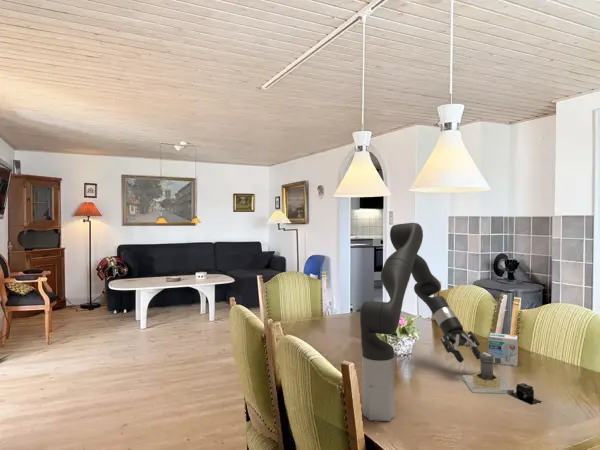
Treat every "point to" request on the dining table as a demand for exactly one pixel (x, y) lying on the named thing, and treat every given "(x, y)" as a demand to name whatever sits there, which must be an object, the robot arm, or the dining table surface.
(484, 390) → the hub plate
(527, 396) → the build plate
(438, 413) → the dining table surface
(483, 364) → the dark grey capped cylinder
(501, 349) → the light bulb box
